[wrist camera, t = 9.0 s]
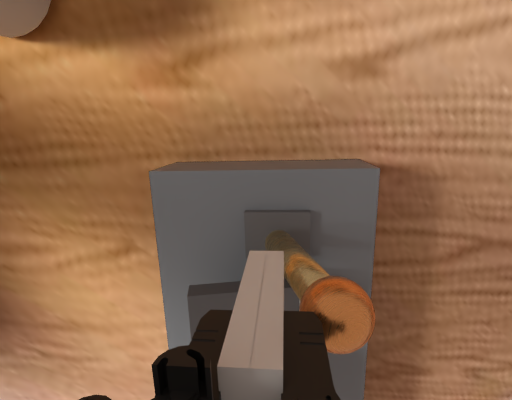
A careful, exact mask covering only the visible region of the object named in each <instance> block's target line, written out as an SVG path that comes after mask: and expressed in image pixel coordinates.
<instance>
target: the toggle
mask: <svg viewBox="0 0 512 400" xmlns="http://www.w3.org/2000/svg"><path fill="white" fill-rule="evenodd" d="M265 248H266V250H267V251H284V277H285V279H286V280H287V282H288V283H289V285H290V286H291V288H292V289H293V291H294V292H295V294H296V295H297V297H298V298H299V299H300V307H299V311H310V312H314V313H315V314H316V315H317V317H318V318H319V319H320V320H321V322H322V327H323V332H324V337H325V343H326V348H327V352H329V353H333V354H348V353H352V352H354V351H356V350H358V349H360V348H361V347H363V346H364V345H365V344H366V343H367V341H368V340H369V339H370V337H371V335H372V333H373V330H374V326H375V311H374V307H373V304H372V302H371V299H370V298H369V296H368V294H367V293H366V292H365V291H364V289H363V288H362V287H361V286H359V285H358V284H357V283H355V282H354V281H352V280H350V279H348V278H345V277H341V276H330V275H329V274H328V273H327V272H326V271H325V270H324V269H323V268H322V267H321V266H320V265H319V264H318V263H317V262H316V261H315V260H314V259H313V258H312V257H311V256H310V255H309V254H308V253H307V252H306V251H305V250H304V249H303V248H302V247H301V246H300V245H299V244H298V243H297V242H296V241H295V240H294V239H293V238H292V237H291V236H290V235H289V234H288V233H287V232H285V231H283V230H275V231H272V232H271V233H270V234H269V235H268V236H267V238H266V240H265Z"/></svg>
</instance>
